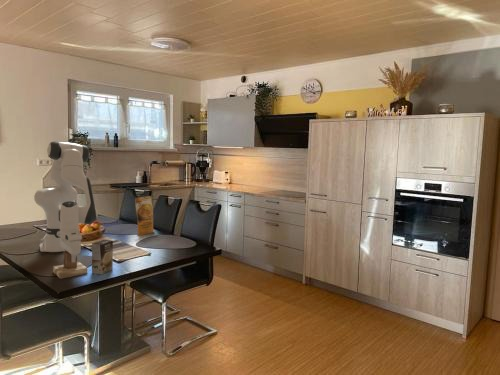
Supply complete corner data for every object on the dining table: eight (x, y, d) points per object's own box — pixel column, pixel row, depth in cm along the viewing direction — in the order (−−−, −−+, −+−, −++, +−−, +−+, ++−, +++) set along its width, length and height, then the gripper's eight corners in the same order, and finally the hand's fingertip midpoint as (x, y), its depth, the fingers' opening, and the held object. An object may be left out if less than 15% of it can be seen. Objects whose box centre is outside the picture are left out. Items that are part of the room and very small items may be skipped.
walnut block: (63, 266, 193) (63, 251, 192) (73, 264, 197) (73, 249, 196) (66, 269, 190) (66, 253, 189) (77, 267, 193) (76, 252, 192)
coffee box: (101, 274, 192) (101, 244, 191) (91, 273, 194) (91, 243, 192) (113, 269, 201) (113, 240, 199) (103, 267, 203) (103, 239, 201)
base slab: (53, 271, 193) (53, 266, 193) (79, 267, 202) (79, 261, 202) (60, 278, 185) (60, 272, 184) (87, 273, 193) (87, 267, 193)
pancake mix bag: (131, 235, 274) (131, 197, 271) (150, 230, 291) (150, 194, 287) (138, 236, 271) (138, 198, 268) (156, 231, 287) (157, 195, 284)
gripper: (57, 230, 196) (57, 255, 198) (69, 238, 181) (70, 265, 183) (69, 228, 201) (70, 253, 202) (83, 236, 186) (83, 263, 187)
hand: (70, 259), depth 193 cm, fingers open, 8 cm apart
